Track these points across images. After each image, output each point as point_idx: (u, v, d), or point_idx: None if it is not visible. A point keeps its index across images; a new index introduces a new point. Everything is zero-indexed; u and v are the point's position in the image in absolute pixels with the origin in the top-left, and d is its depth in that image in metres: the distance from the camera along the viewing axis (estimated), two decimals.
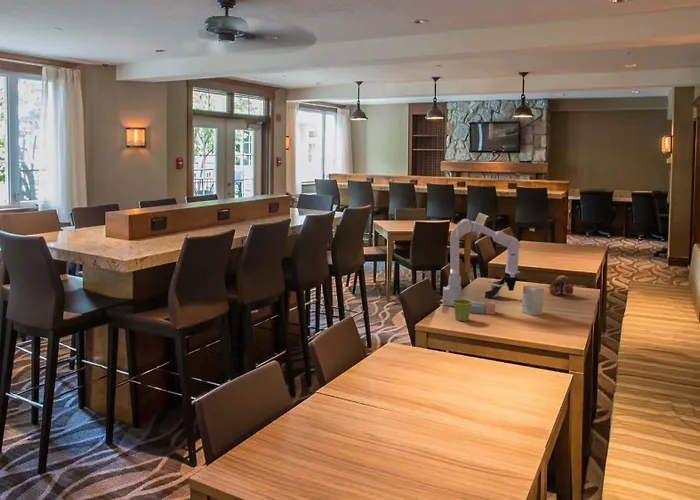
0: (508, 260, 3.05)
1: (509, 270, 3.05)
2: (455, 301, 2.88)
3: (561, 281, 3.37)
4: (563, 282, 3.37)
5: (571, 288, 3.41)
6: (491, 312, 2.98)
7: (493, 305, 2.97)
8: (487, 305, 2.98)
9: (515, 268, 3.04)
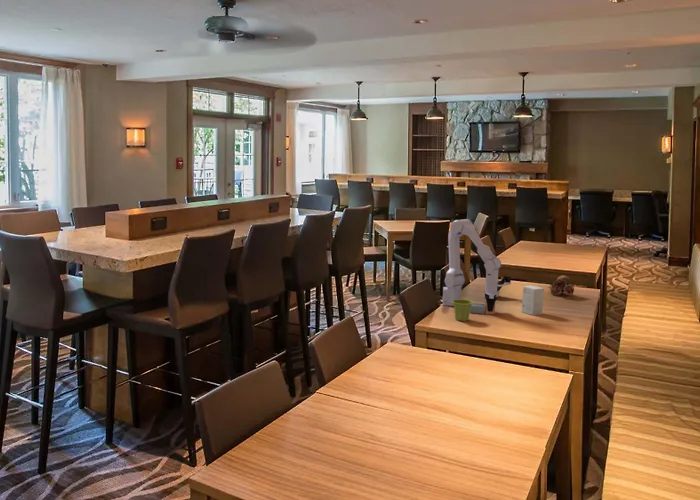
0: (486, 280, 2.98)
1: (488, 291, 2.97)
2: (455, 301, 2.88)
3: (562, 281, 3.36)
4: (564, 282, 3.36)
5: (572, 288, 3.41)
6: (491, 312, 2.98)
7: None
8: None
9: (494, 289, 2.96)
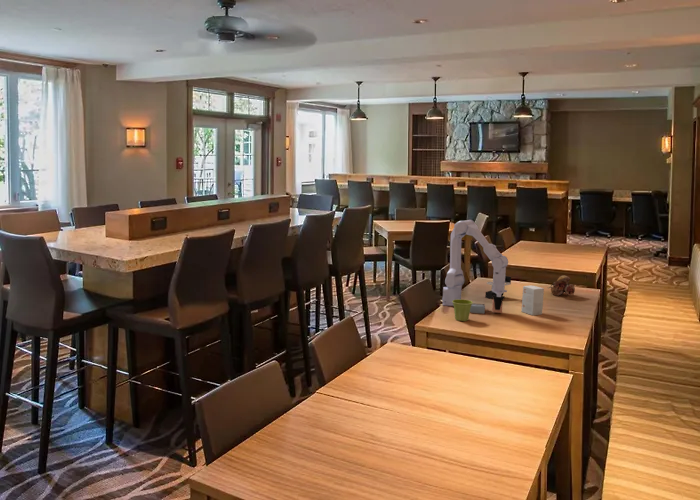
0: (493, 278, 2.97)
1: (496, 289, 2.96)
2: (455, 301, 2.88)
3: (563, 281, 3.36)
4: (565, 282, 3.36)
5: (572, 288, 3.41)
6: (498, 310, 2.97)
7: None
8: (494, 303, 2.97)
9: (502, 287, 2.95)
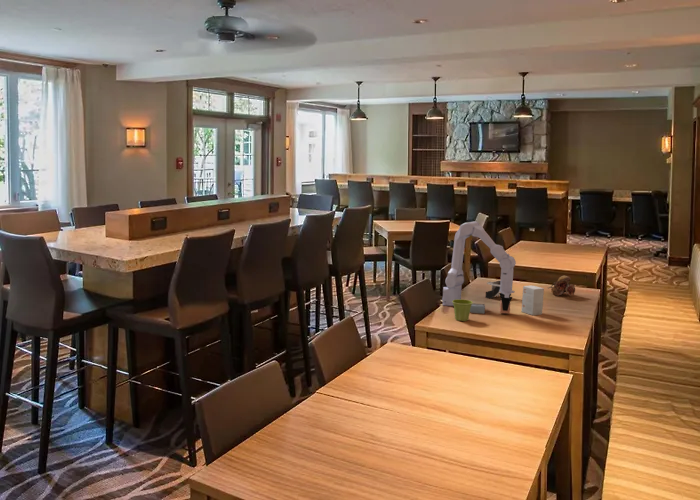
0: (501, 279, 2.96)
1: (503, 290, 2.95)
2: (455, 301, 2.88)
3: (564, 281, 3.36)
4: (566, 282, 3.36)
5: (573, 288, 3.41)
6: (506, 311, 2.97)
7: None
8: None
9: (509, 288, 2.95)
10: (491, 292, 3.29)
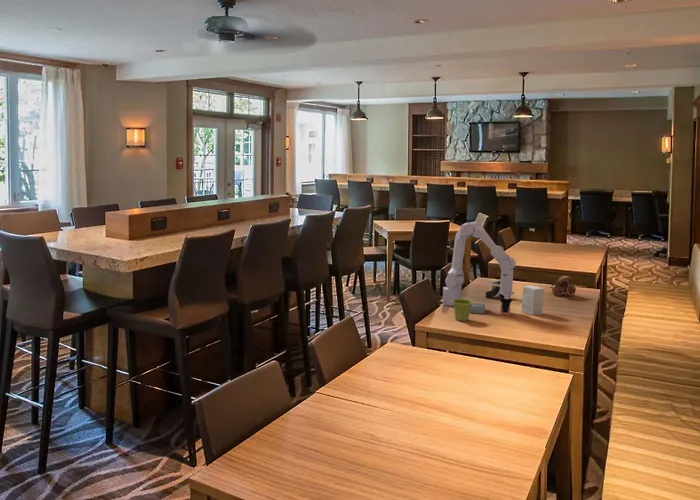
0: (501, 280, 2.96)
1: (503, 291, 2.95)
2: (455, 301, 2.88)
3: (565, 281, 3.36)
4: (567, 282, 3.36)
5: (574, 288, 3.41)
6: (506, 313, 2.97)
7: None
8: None
9: (509, 289, 2.95)
10: (491, 292, 3.29)
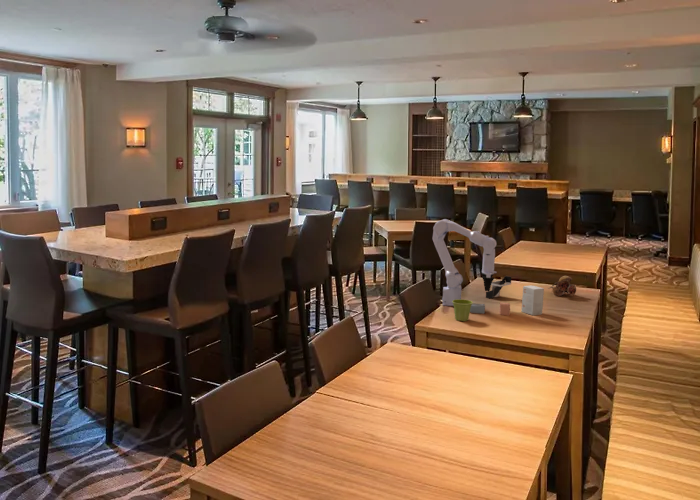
0: (483, 260, 3.04)
1: (485, 270, 3.03)
2: (455, 301, 2.88)
3: (566, 282, 3.35)
4: (568, 283, 3.36)
5: (574, 288, 3.41)
6: (506, 313, 2.97)
7: (508, 306, 2.96)
8: (502, 306, 2.97)
9: (491, 268, 3.03)
10: (491, 292, 3.29)
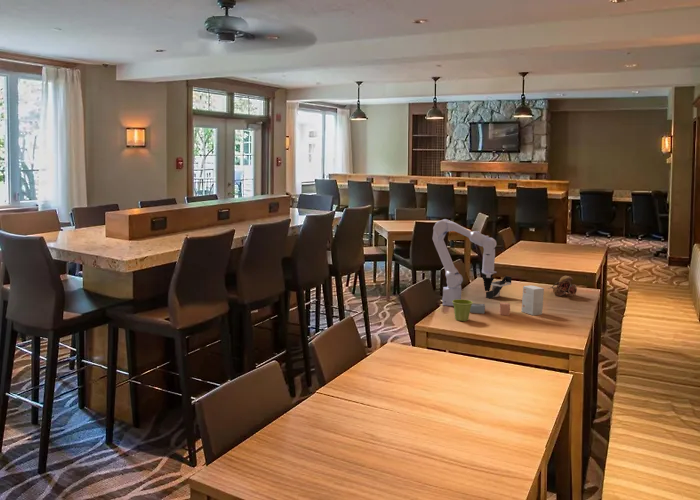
0: (483, 260, 3.04)
1: (485, 270, 3.03)
2: (455, 301, 2.88)
3: (567, 282, 3.35)
4: (569, 283, 3.35)
5: (575, 288, 3.41)
6: (506, 313, 2.97)
7: (508, 306, 2.96)
8: (502, 306, 2.97)
9: (491, 268, 3.03)
10: (491, 292, 3.29)
